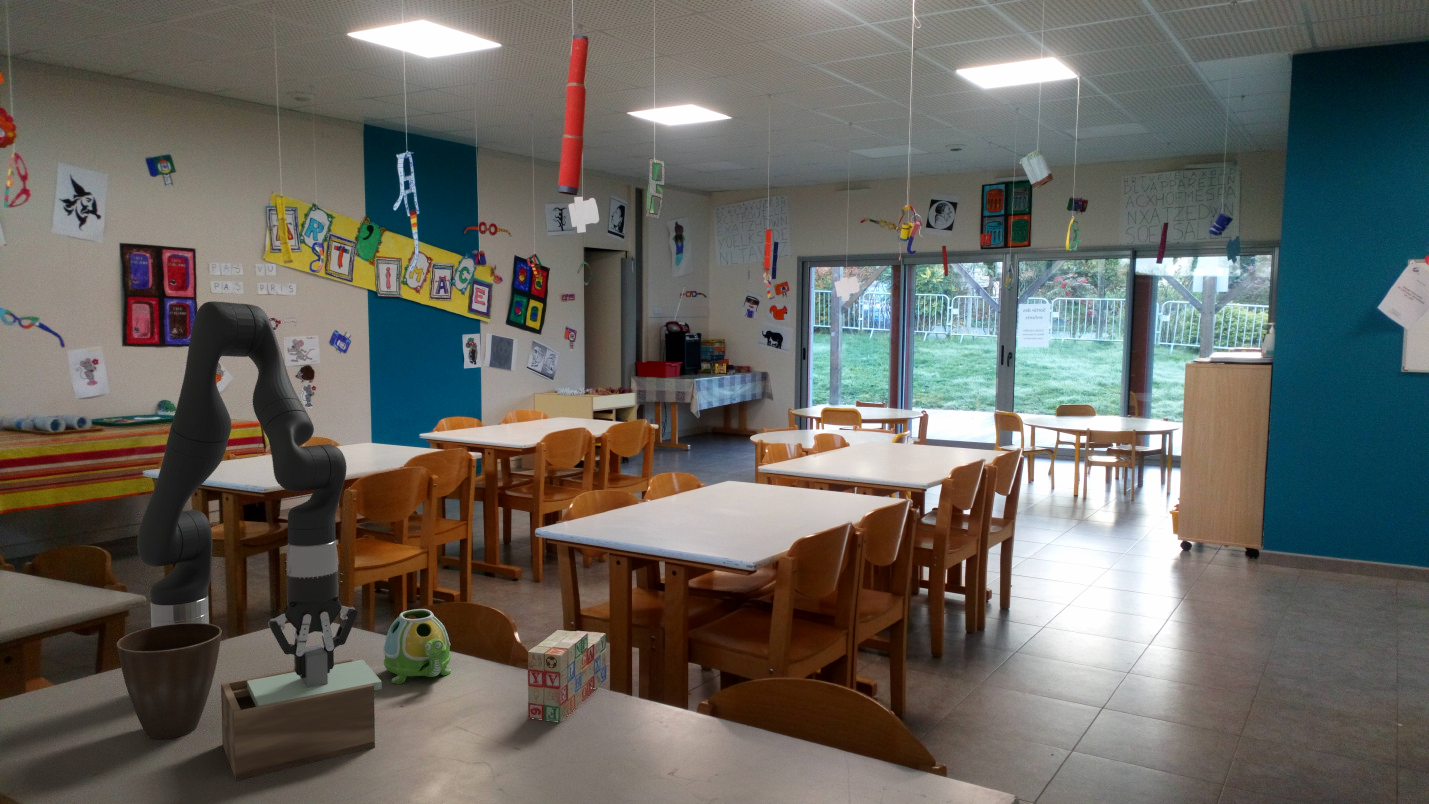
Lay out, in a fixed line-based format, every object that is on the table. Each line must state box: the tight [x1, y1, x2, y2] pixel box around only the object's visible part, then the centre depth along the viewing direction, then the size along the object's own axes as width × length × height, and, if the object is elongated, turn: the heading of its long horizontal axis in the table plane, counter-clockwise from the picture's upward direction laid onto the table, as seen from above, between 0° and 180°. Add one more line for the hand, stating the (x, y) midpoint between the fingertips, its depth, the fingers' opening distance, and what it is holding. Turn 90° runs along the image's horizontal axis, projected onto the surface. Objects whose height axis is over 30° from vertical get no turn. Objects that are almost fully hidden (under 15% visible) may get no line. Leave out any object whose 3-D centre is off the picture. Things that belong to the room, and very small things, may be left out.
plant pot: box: [116, 623, 222, 740], centre depth 152 cm, size 15×15×16 cm
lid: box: [247, 644, 383, 707], centre depth 148 cm, size 12×18×6 cm, turn 125°
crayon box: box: [220, 658, 376, 781], centre depth 147 cm, size 15×20×10 cm
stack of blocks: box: [527, 629, 608, 723], centre depth 168 cm, size 21×6×12 cm, turn 165°
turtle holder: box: [383, 608, 452, 685], centre depth 177 cm, size 12×18×12 cm
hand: (314, 673), depth 148 cm, fingers closed on lid, 3 cm apart
